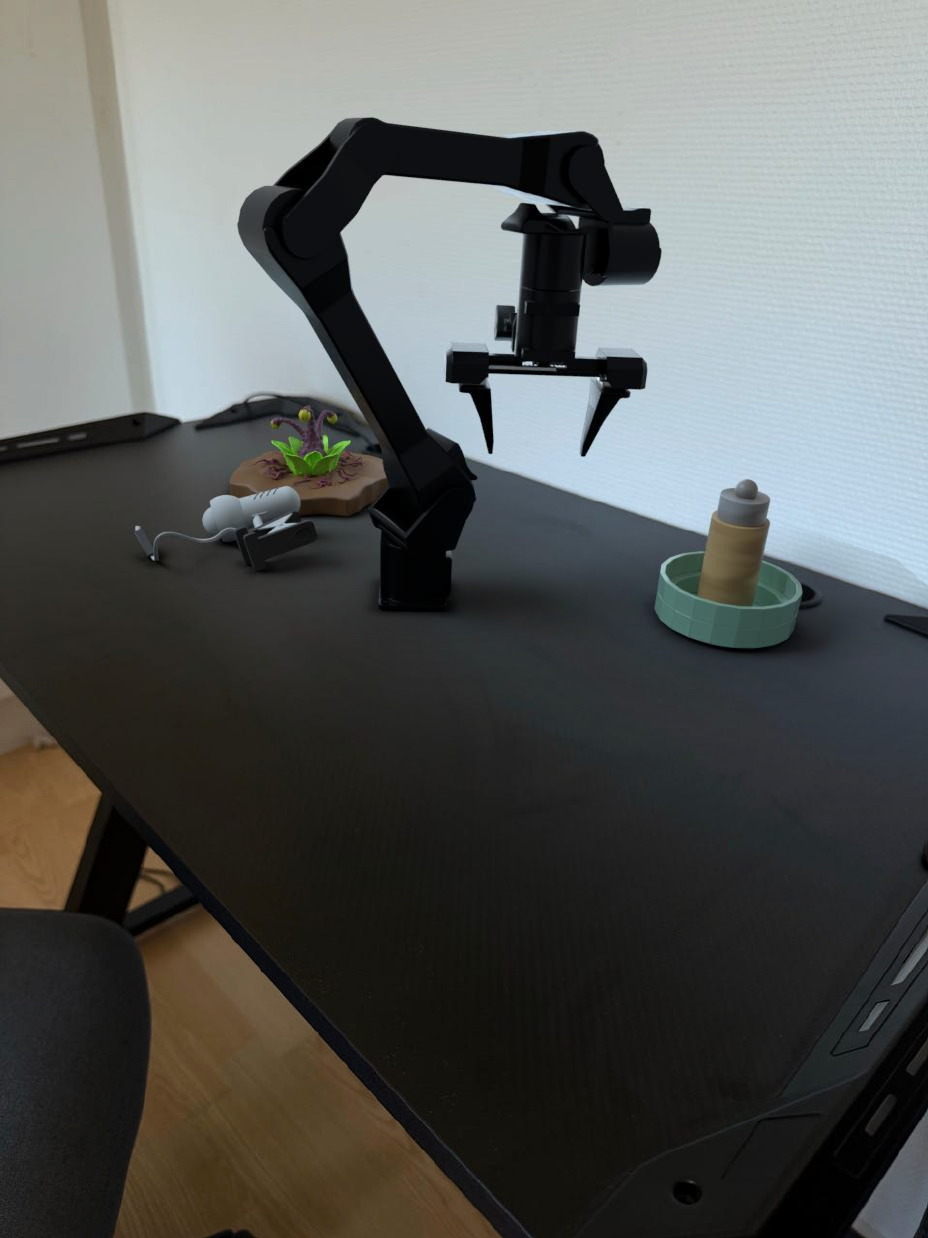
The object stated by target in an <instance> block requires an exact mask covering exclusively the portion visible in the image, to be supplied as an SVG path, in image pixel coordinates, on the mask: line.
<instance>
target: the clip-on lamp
mask: <svg viewBox="0 0 928 1238" xmlns="http://www.w3.org/2000/svg"><path fill="white" fill-rule="evenodd" d="M209 504H210V507H208V508H207V509H206V510H205V511H204V513H203V515H202V525H203V528H204V530H205V531H206V532H207V533H208V534H210V535H211V536H212V537H210V538H196V537H193V536H188V535H185V534H183V533H179V532H175V531H163V532H162V533H161V532H160V533H159V534H158V535H156V537H155V538H154V541H153V542H152V540H151V538H150V537H149V535H148V533H147V531H146V530H145V528H143V527H141V526H139V525H135V526H134V527H135V531H133V534H134V537H135V538H136V540H137V541H138V544H139V545H140V547H141V549H142V551H143V553H144V555H145V556H146V558H147V559H148V560H152V561H154V562H159V560H160V557H159V549H158V543H159V540H160V539H161V538H163V537H165V536H167V537H169V536H171V537H174V538H177V539H181V540H184V541H187V542H191V543H195V544H196V543H197V544H211V543H214V542H218V541H219V540H220V539H221V540H222V542H223V543H231V542H236V543H237V546H238V549H239V551H240V554H241V557H242V560H243V563H244V564H245V565H246V566H249V565H251V566H252V568H253V570H254V571H255V572H258V571H262V570H263V569H265V568H266V567H267V563H266V561H268V560H269V559H273V558H275V557H278V556H280V555H283V554H285V553H288V552H292V551H294V550H296V549H299V548H301V547H304V546H307V545H309V544H310V545H311V544H312V543H314V542H316V541H317V539H318V533H317V530H316V526H315V523H314V522H313V521H312V520H311V519H305V520H304V519H303V520H302V518H301V516H300V515H299V513H298V511H299V509H300V504H301V503H300V497H299V495H298V493H297V492H296V491H295V490H294V489H292V488H291V487H288V486H284V487H280V488H277V489H273V490H269V491H265V492H262V493H258V494H254V495H250V496H246V497H243V498H237V497H235V496H231V495H230V494H222V495H218V496H216V497H214V498H211V500H209Z"/></svg>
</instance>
